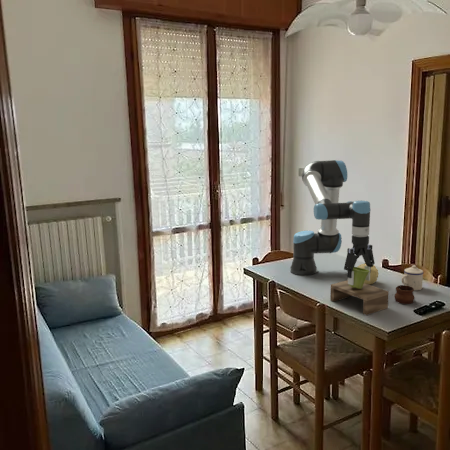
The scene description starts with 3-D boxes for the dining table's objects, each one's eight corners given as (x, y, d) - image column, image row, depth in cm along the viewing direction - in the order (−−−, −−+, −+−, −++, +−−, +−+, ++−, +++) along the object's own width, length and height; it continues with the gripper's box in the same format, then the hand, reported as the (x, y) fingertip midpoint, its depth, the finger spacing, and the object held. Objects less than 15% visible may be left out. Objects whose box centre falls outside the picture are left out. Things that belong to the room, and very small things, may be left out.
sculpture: (379, 286, 234) (380, 266, 232) (355, 285, 236) (356, 265, 234) (376, 279, 245) (377, 260, 243) (353, 279, 247) (354, 259, 245)
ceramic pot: (380, 294, 223) (381, 280, 221) (418, 295, 221) (419, 281, 219) (388, 308, 206) (389, 294, 204) (429, 310, 203) (431, 295, 202)
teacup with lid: (412, 283, 237) (413, 262, 234) (426, 289, 228) (427, 266, 226) (394, 287, 232) (395, 265, 230) (408, 292, 224) (409, 270, 222)
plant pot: (370, 290, 207) (374, 271, 206) (356, 289, 202) (360, 270, 201) (354, 284, 215) (357, 266, 214) (340, 284, 209) (344, 265, 209)
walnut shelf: (330, 300, 216) (330, 284, 215) (351, 294, 224) (351, 279, 222) (366, 315, 198) (367, 297, 196) (387, 308, 205) (388, 291, 204)
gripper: (348, 240, 195) (347, 289, 200) (384, 233, 207) (382, 279, 211) (336, 237, 202) (335, 284, 206) (371, 230, 213) (369, 275, 218)
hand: (358, 282), depth 209 cm, fingers open, 10 cm apart
